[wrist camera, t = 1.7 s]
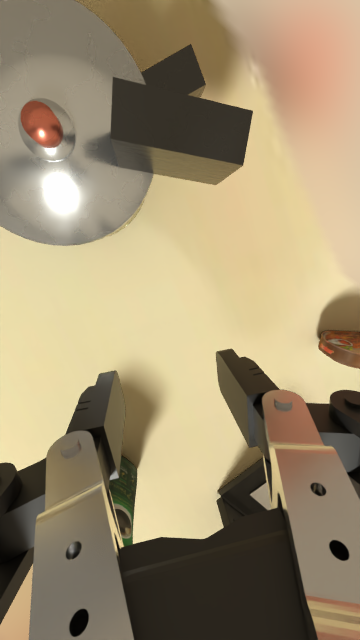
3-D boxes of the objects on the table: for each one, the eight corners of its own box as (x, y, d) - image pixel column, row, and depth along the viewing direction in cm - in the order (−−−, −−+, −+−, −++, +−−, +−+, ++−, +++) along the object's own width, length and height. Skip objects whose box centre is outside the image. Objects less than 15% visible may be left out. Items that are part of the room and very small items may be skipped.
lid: (-52, 231, 21) (-143, 228, 14) (-90, -42, 16) (-259, -245, 9) (201, 262, 25) (223, 271, 18) (234, 51, 20) (280, -45, 13)
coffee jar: (74, 467, 43) (28, 621, 26) (106, 440, 43) (82, 580, 25) (113, 493, 47) (96, 645, 29) (144, 468, 46) (146, 610, 28)
